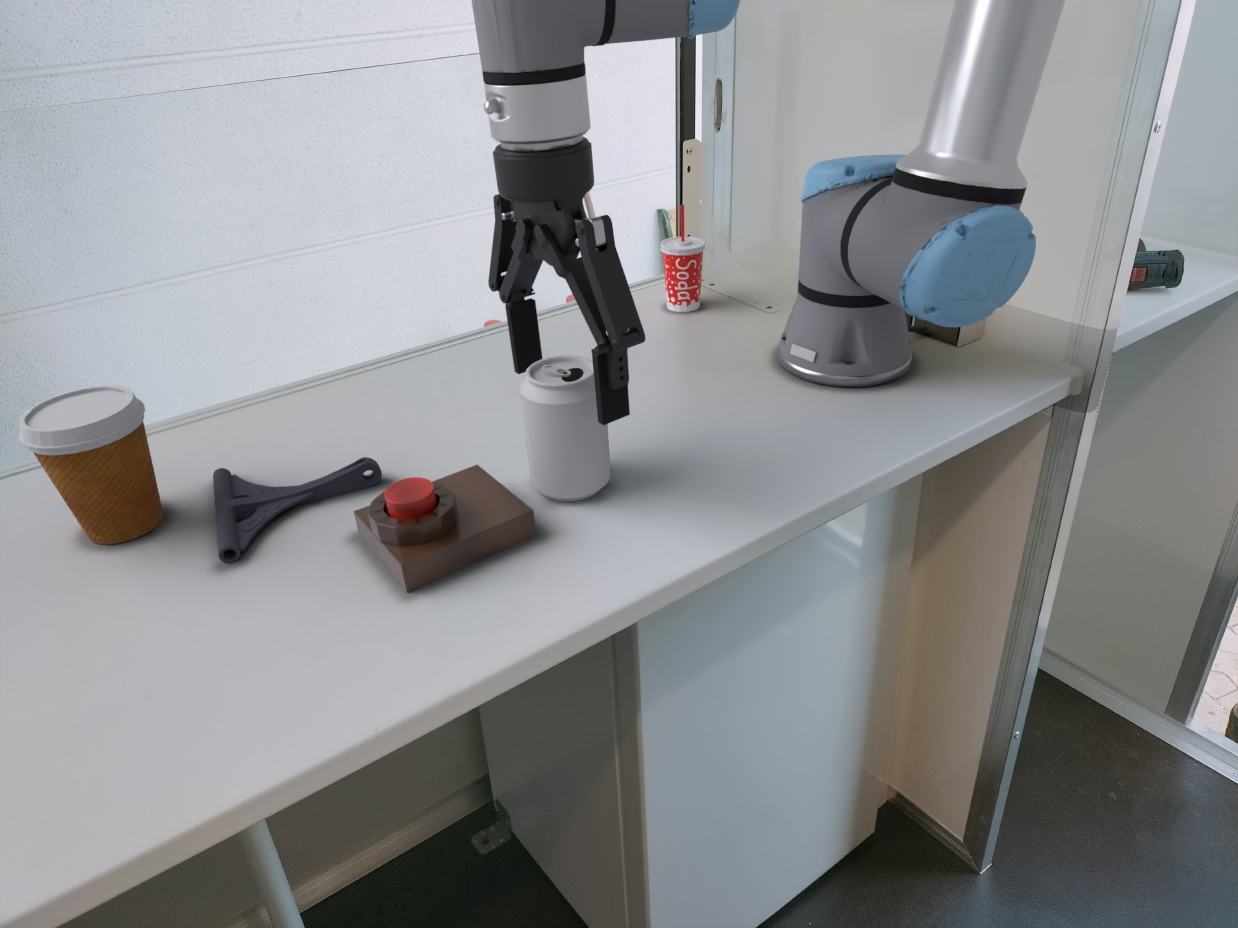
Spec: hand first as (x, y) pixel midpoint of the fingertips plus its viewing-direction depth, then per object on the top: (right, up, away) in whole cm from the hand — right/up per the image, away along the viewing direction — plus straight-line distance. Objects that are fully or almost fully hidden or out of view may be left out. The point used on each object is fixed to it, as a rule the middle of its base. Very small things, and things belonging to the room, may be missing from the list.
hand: (568, 392), depth 75 cm
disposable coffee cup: (-41, -12, +2) cm, 42 cm away
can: (0, -8, +5) cm, 10 cm away
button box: (-10, -13, -2) cm, 16 cm away
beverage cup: (+13, +16, +44) cm, 49 cm away
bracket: (-25, -10, +4) cm, 27 cm away
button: (-13, -10, -5) cm, 17 cm away
